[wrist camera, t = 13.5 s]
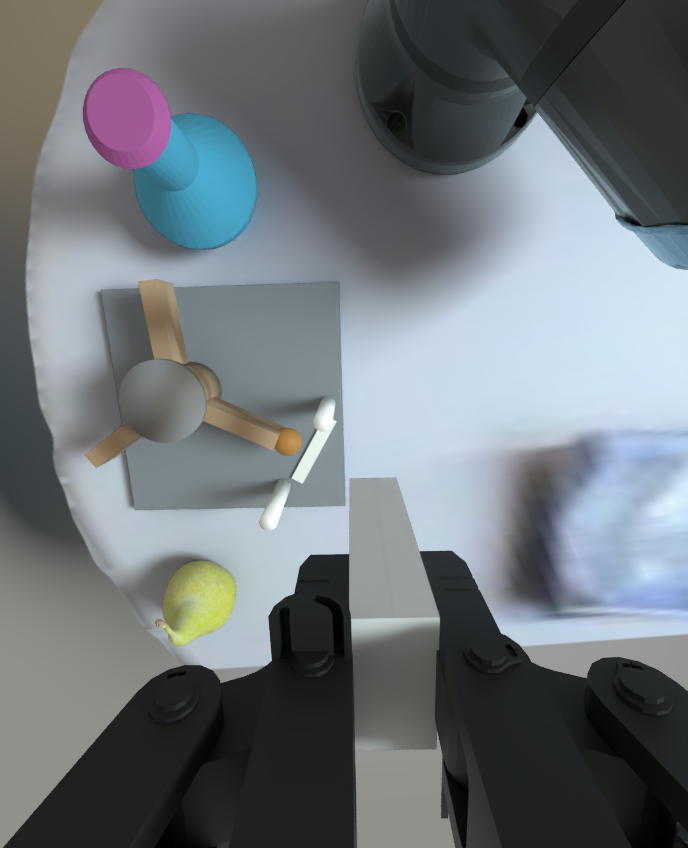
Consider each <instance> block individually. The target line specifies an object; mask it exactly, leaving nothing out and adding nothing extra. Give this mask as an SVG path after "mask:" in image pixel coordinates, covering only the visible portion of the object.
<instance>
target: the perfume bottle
mask: <svg viewBox="0 0 688 848" xmlns="http://www.w3.org/2000/svg"><path fill="white" fill-rule="evenodd" d="M83 121H84V126H85V130H86V133H87V135H88V138H89V140H90V142H91V143H92V145H93V147H94V148H95V149H96V151H97V152H98V153H99V154H100V155H101V156H102V157H103V158H104V159H106V160H107V161H108V162H110V163H112V164H114V165H116V166H119V167H122V168H127V169H134V186H135V191H136V196H137V199H138V202H139V204H140V207H141V209H142V211H143V213H144V215H145V216H146V218H147V220H148V221H149V222H150V223H151V225H152V226H153V227H154V228H155V229H156V230H157V231H158V232H159V233H160V234H161V235H163V236H164V237H165V238H167V239H168V240H170V241H172V242H174V243H176V244H178V245H181V246H184V247H188V248H192V249H201V250H206V249H215V248H218V247H221V246H224V245H226V244H228V243H229V242H231V241H233V240H234V239H236V238H237V237H238V236H239V235H240V234H241V233H242V232H243V231H244V230H245V228H246V227H247V226H248V224H249V222H250V220H251V217H252V215H253V213H254V209H255V205H256V201H257V181H256V174H255V171H254V168H253V164H252V161H251V158H250V156H249V154H248V152H247V150H246V148H245V146H244V144H243V143H242V142H241V141H240V139H239V138H238V137H237V135H236V134H235V133H234V132H233V131H231V130H230V129H229V128H228V127H227V126H226V125H224V124H223V123H221V122H219V121H217V120H216V119H214V118H211V117H208V116H205V115H201V114H192V113H188V114H180V115H176V116H173V117H171V116H170V110H169V107H168V104H167V101H166V99H165V97H164V95H163V93H162V91H161V90H160V89H159V88H158V86H157V85H156V84H155V83H154V82H153V81H152V80H151V79H150V78H149V77H147V76H146V75H144V74H142V73H140V72H138V71H135V70H132V69H126V68H118V69H112V70H109V71H107V72H105V73H103V74H102V75H100V76H99V77H98V78H97V79H96V80H95V81H94V82H93V83H92V84H91V86H90V88H89V89H88V91H87V94H86V97H85V100H84V106H83Z"/></svg>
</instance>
